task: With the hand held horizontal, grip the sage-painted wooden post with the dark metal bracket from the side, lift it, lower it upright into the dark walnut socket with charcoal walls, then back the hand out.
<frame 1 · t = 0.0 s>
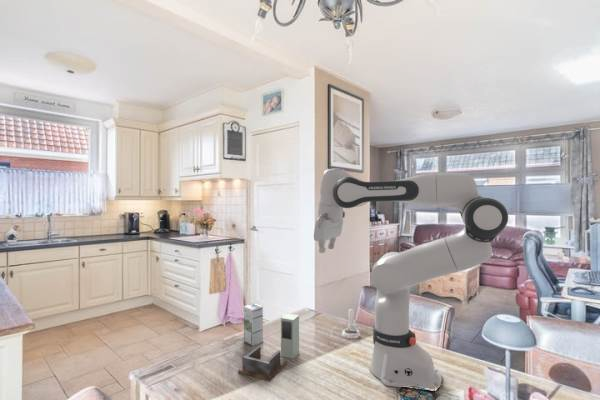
hand: (326, 250, 116), 39 cm above the table, tool pointing down, fingers open, 8 cm apart
bracket post: (290, 354, 118), on the table
syrup box: (253, 342, 128), on the table
hook: (351, 335, 135), on the table
bracket socket: (263, 368, 108), on the table
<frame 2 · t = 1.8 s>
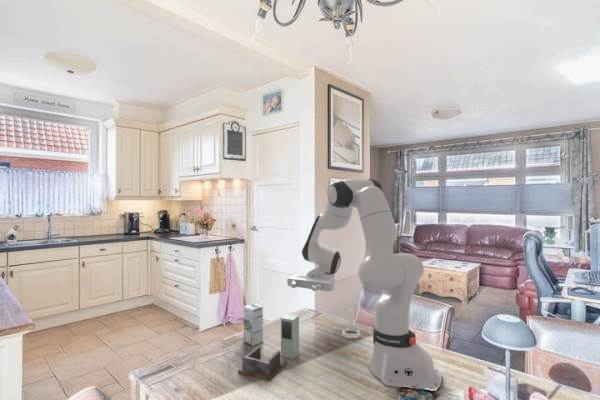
hand: (303, 287, 129), 22 cm above the table, tool horizontal, fingers open, 8 cm apart
nothing on the table moved.
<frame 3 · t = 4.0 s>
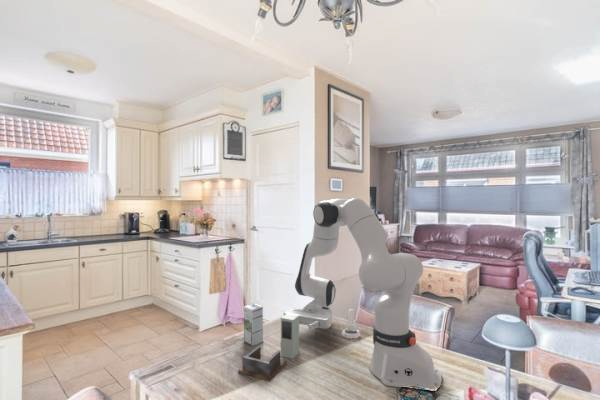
hand: (299, 325, 125), 8 cm above the table, tool horizontal, fingers open, 8 cm apart
nothing on the table moved.
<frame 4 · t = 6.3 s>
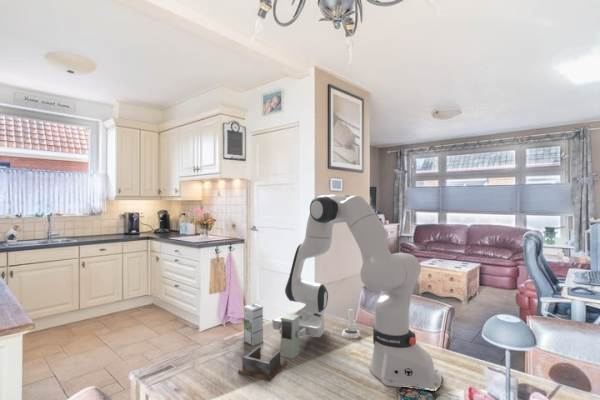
hand: (289, 333, 117), 8 cm above the table, tool horizontal, fingers closed on bracket post, 5 cm apart
bracket post: (290, 354, 118), on the table, touching gripper
everything else where it was.
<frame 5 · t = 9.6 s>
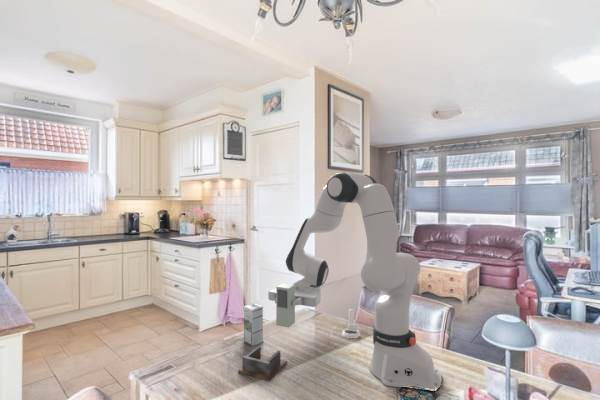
hand: (284, 302, 115), 20 cm above the table, tool horizontal, fingers closed on bracket post, 5 cm apart
bracket post: (285, 323, 116), point 12 cm above the table, touching gripper
everything else where it was.
when the fingers open (10 cm above the table, at t = 13.3 s): bracket post drops 1 cm, resting on bracket socket.
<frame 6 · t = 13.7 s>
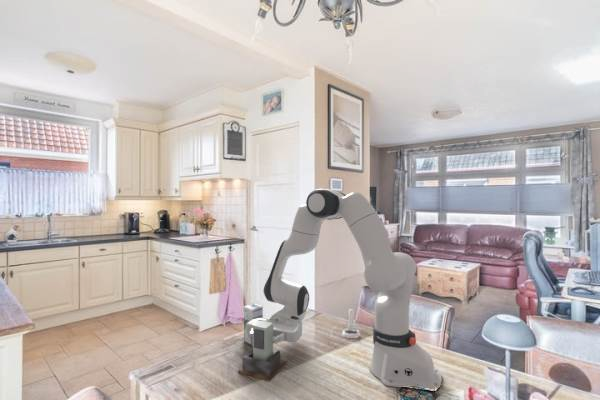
hand: (261, 338, 107), 10 cm above the table, tool horizontal, fingers open, 8 cm apart
bracket post: (263, 365, 108), point 1 cm above the table, touching bracket socket
everything else where it was.
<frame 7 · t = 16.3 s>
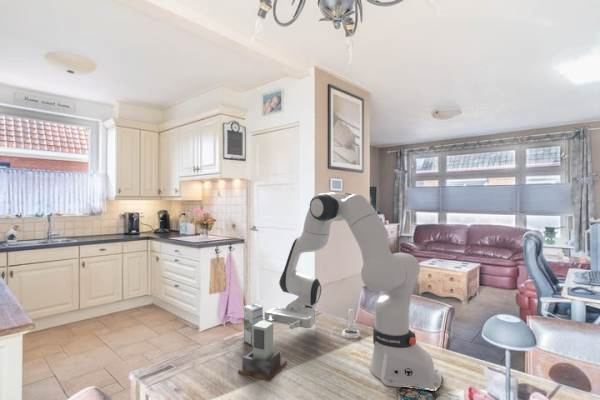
hand: (279, 324, 119), 11 cm above the table, tool horizontal, fingers open, 8 cm apart
nothing on the table moved.
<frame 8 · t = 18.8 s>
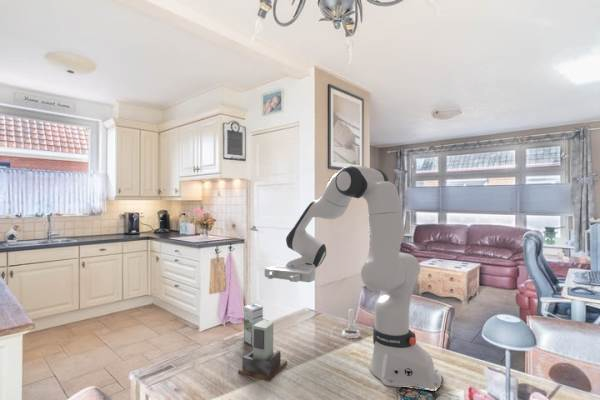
hand: (280, 278, 119), 28 cm above the table, tool horizontal, fingers open, 8 cm apart
nothing on the table moved.
at the end: bracket post 0.0 cm off-centre on the bracket socket, point 1.0 cm above the bracket socket's base; bracket post tilted 0°; the gripper is holding nothing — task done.
